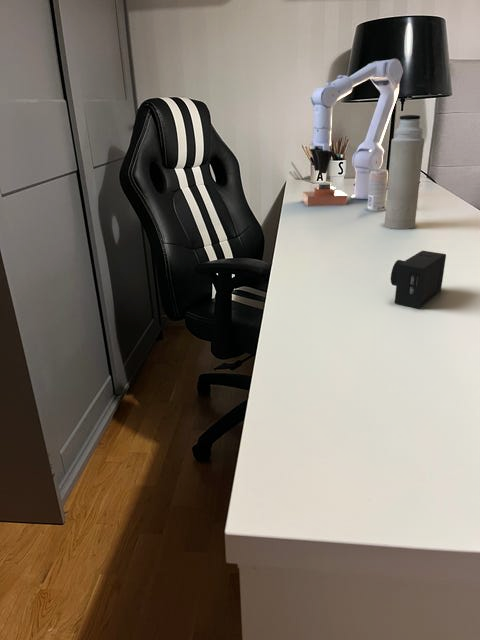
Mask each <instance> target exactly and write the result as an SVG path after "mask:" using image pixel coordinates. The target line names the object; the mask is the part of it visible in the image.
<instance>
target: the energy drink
mask: <svg viewBox="0 0 480 640" xmlns="http://www.w3.org/2000/svg"><path fill="white" fill-rule="evenodd" d="M388 177H389V169H383V168H382V169H381V168H380V169H375V170H371V172H370V180H369V194H368V199H367V207H366V208H367V210H368V211H370V212H382V211H384V210H386V201H387V191H388Z"/></svg>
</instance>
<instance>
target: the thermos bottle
mask: <svg viewBox="0 0 480 640" xmlns="http://www.w3.org/2000/svg"><path fill="white" fill-rule="evenodd" d="M420 119H421V115H418V114H406V115H405V114H404V115H400V116H399V120H400V121H399V125H398V127H397V128H396V129H395V131H394V137H393V138H392V139H391V142H390V143H391V144H390V156H389V167H388V180H387V191H386V203H385V212H384V223H383V225H384V227H385V228H389V229H396V230H409V229H413V228H415V226H416V220H417V210H418V209H417V208H418V200H419V190H420V180H421V173H422V165H423V156H424V155H423V154H424V146H425V138H423V134H424V133H423V129H422V128H421V127H420V125H421V124H420Z"/></svg>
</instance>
